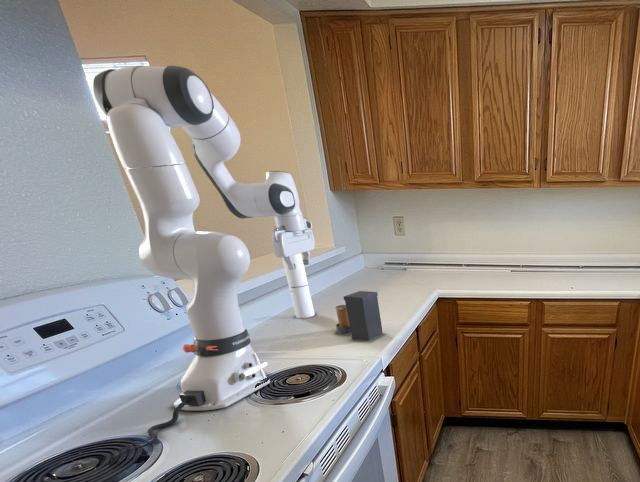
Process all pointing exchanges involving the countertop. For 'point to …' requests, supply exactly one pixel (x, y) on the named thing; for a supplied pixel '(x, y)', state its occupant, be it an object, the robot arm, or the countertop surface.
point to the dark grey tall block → (363, 315)
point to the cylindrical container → (299, 288)
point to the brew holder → (343, 329)
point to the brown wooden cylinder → (342, 315)
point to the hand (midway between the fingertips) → (299, 267)
